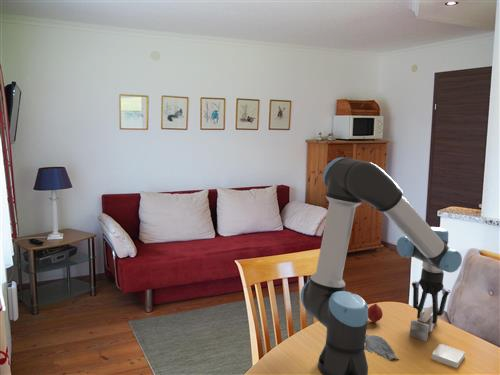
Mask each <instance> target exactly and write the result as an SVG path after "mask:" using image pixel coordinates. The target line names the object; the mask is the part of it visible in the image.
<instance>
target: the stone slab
mask: <svg viewBox="0 0 500 375" xmlns="http://www.w3.org/2000/svg"><path fill="white" fill-rule="evenodd" d="M364 351H367V352H368V353H369V354H373V353H374V354H376V355H377V356H379V357H382V358H383V359H385V360H388V361H390V360H393V359H395V360H397V361H400V359H399V358H398V356H397V355H396V354H395V352H394V350H393V348H392V347H391V346H390V345H389V343H388V341H387V340H385V338H383V337H382V336H380V335H379V336H378V335H374V334H373V335H371V334H370V335H369V334H366V337H365V346H364Z"/></svg>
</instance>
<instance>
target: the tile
mask: <svg viewBox="0 0 500 375" xmlns="http://www.w3.org/2000/svg"><path fill="white" fill-rule="evenodd" d="M465 355H466V352H465V351H463V350H461V349H457V348H454V347H452V346H449V345H445V344H443V343H439V345H438V346H437V347H436V348H435V349H434V350H433V352H432V353H431V360H433V361H436V362H439V363H442V364H444V365H447V366H450V367H452V368H455V369H458V368H459V366H460V364H461V363H462V362H463V360H464V359H465Z"/></svg>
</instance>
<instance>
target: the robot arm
mask: <svg viewBox="0 0 500 375" xmlns="http://www.w3.org/2000/svg"><path fill="white" fill-rule="evenodd" d="M322 180H323V181H322V182H323V183H324V186H325V188H326V193H325V198H326V200H327V201H328V207H327V213H326V218H325V222H324V223H325V224H324V229H323V234H322V239H321V245H320V250H319V255H318V260H317V265H316V270H315V272H313V274H311V275H310V279H309V280H307V281H306V283H304V284H303V286H302V288H301V290H300V301H301V304H302V306H303V308H304V309H305V310H306V312H308V314H309V315H310V316H312V317H313V318H315V319H316V320H317V321H318V322H319V323H320V324H321V325H323V326H324V327H325V328H326V337H325V338H326V339H325V343H324V346H323V349H322V351H321V352H320V354H319V356H318V363H317V367H318V371H319V372H320V374H322V375H368V374H369V373H368V371H369V366H368V361H367V360H368V359H367V356H366V352H365V351H366V350H364V346H366V343H365V337H366V335H367V326H368V320H369V318H368V308H369V306H368V304H367V302H366V301H365V300H366V299H365V300H364V299H363V297H362V296H360V295H358V294H356V293H352V292H350V291H346V290H345V288H346V282H345V281H344V279H343V275H344V269H345V266H346V265H345V263H346V259H347V253H348V249H349V244H350V239H351V234H352V228H353V224H354V218H355V213H356V208H357V207H359V206H360V205H362V202H364V203H366V204H369V205H370V206H372V207H373V209H374V210H376V211H377V212H379V213H383V214H384V215H385V216H386V217H387V218H388V219H389V220H390V221H391V222H392V224H394V225H395V226H396V228H397V229H399V231H400V232H401V233H402V234H403V235H404V236H400V237H399V238H398V240H397V241H396V251H397V253H398V255H400V257H402V258H409V259H411V258H415V259H417V260H420V261H421V262H422V263H421V264H422V265H421V267H422V268H421V275H420V279H419V281H417V280H414V281H413V282H412V283H411V285H412V288H413V289H412V290H413V295H412V308H413V309H416V310H417V313H416V314H417V315H416V319H417V320H418V319H419V318H420V317H421V316H422V315H423V314H424V312H425V311H426V310H424V307H425V303H426V300H427V296H428V294H429V295H430V296H431V299H432V300H431V301H432V302H431V303H432V307H433V313H432V314H431V316H430V324H429V333H431V332H432V331H433V330H434V327H433V324H435V323H436V322H437V323H438V319H437V316H438V317H441V316H442V315H443V314H444V312H445V308H446V305H447V304H446V303H447V299H448V296H449V295H450V293H451V290H450V289H447V288H445V287H444V284H443V281H444V274H445V273H444V271H445V272H447V273H455V272H456V271H458V270H459V268H460V267H461V265H462V261H463V257H462V255H461V252H459V251H458V250H456V249H454V248H451V247H449V246H448V244H449V231H448V230H447V229H445V228H442V227H438V226H437V227H436V226H430V225H429V224H428V223H427V221H426V220H425V219H424V218H423V217H422V216H421V215H420V213H419V212H417V210H416V209H415V208H414V207H413V205H411V204H410V203H409V201H407V200H408V199H406V198H405V197H404V192H403V189H402V188H401V187H400V186H399V185H398V183H397V182H395V181H394V179H393V178H392V177H391V176H390V175H389V174H387V173H386V172H385V170H384V169H382V168H381V167H380V166H378V165H377V164H375V163H373V162H370V161H367V160H365V161H364V160H360V159H355V158H352V157H343V156H342V157H336V158H335V159H333V160H331V161H330V162H329V163H328V164H326V166H325V168H324V170H323V174H322ZM420 287H421V289H422V292H421V296H420V300H419V294H420V293H419V291H420V290H419V288H420ZM440 292H441V293H442V295H441V296H442V297H441V299H440V305H439V303H438V302H439V301H438V299H439V297H438V296H439V293H440ZM438 308H439V311H438ZM437 323H436V324H437Z"/></svg>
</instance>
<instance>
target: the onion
mask: <svg viewBox="0 0 500 375" xmlns="http://www.w3.org/2000/svg"><path fill="white" fill-rule="evenodd" d="M383 314H384V313H383V310H382V308H381V307H380V306H379V305H378V303H377V302H375V303H374V304H372V305H370V306H368V320H369V321H371V322H372V323H373V324H376V323H377V322H379V321H380V320H381V319H382V317H383Z"/></svg>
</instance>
